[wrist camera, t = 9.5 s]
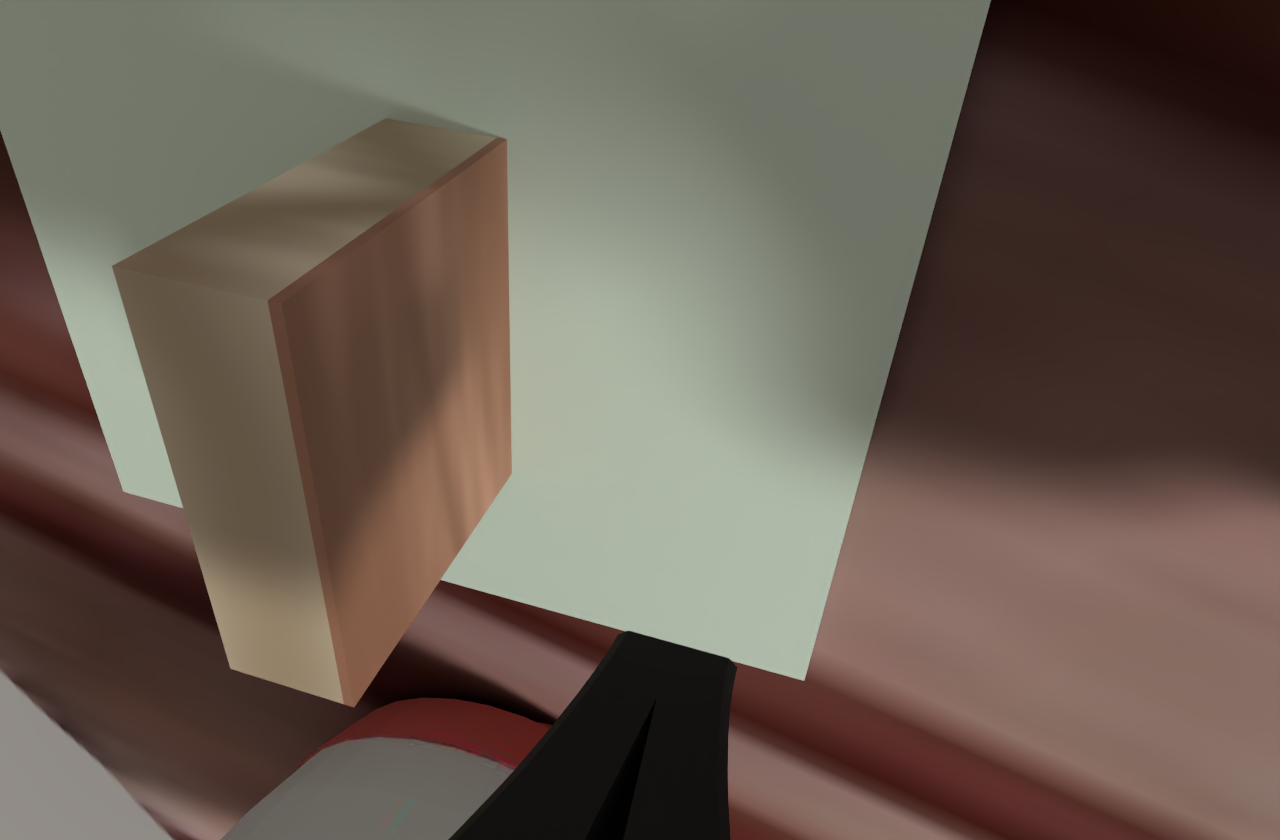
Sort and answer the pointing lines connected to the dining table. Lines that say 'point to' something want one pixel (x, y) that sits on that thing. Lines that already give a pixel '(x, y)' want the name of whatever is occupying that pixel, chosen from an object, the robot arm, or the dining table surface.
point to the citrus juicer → (397, 775)
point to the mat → (558, 251)
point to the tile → (334, 392)
